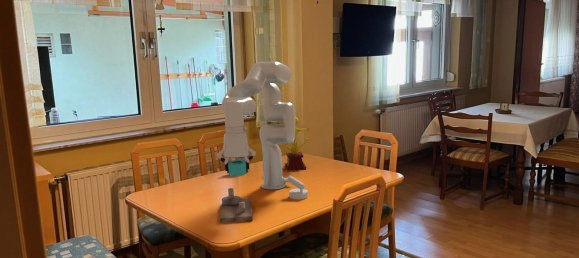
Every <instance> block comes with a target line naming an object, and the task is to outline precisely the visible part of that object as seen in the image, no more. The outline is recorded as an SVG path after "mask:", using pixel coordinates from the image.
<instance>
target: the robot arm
mask: <svg viewBox="0 0 579 258" xmlns="http://www.w3.org/2000/svg"><path fill="white" fill-rule="evenodd" d="M291 78H292V71H291V69H290V67H289V66H287V65H285V64H283V63H281V62H278V61H259V62H258V61H257V62H256V63H254V64H253V65H252V66H251V68H250V70H249V72H248V74H247V75H246V77H245V79H244V80H242V81H240V82H238V83H237V84H235V85H234V86H232V87H231V88H229V89H228V91H226V94H225V96H224V97H223V99H222V101H221V111H222V113H223V114H224V125H225V126H224V127H225V133H223V134H224V135H223V148H222V149H221V150H219V152H217V153H216V157H217V159H219V160H220V161H221V162H222V163H223V164H224V169H225V170H224V171H225V172H226V174H227V175H229V169H228V162H229V160H230V159H235V158H239V157H244V158H245V160H246V172H248V173H249V170H250V162H251V161H252V160H253V159H254V157H255V156H256V154H257V151H256V150H254V149H253V148H251V147H250V146H249V140H248V134H247V132H246V131H248V130H249V129H248V126H246V125H245V122H244V121H245V120H244V116H251V115H252V114H254V113H255V111H256V108H257V104H256V101H255V99H253V98H252V97H253V96H255V95H258V94H259V93H260V92H261V91H262V90H263V111H262V112H263V118H264V120H265V121H267V122H273V123H269V124H263V125H261V127H260V129H259V139H260V142H261V150H262V151H261V152H262V170H263V171H262V172H263V182H261V183H260V187H261V189H264V190H270V191H271V190H273V191H274V190H280V189H283V188H286V186H287V183H289V182H288V181H287V178H288V177H284V176H283V158H282V155H283V154H282V149H281V148H280V146H279V145H284V144H286V145H290V144H291V145H292V143H293V141H294V138H295V128H296V126H295V117H297V116H296V108H295V106H294V104H293V103H292V102H284V101H283V102H282V92H281V90H280V88H279V86H278V85H277V84H281V85H282V84H283V85H284V84H288V83H289V82H290V80H291ZM274 122H277V123H279V122H280V123H283V122H284V123H283V124H277V123H276V124H274ZM249 153H251V154H249ZM222 155H223V156H224V157H223V156H222ZM248 155H249V157H248Z"/></svg>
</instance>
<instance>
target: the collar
mask: <svg viewBox="0 0 579 258" xmlns="http://www.w3.org/2000/svg"><path fill="white" fill-rule="evenodd" d="M228 169H229V173H228V176H231V177H242V176H245V175H247V173H246V161H245V160H237V159H233V160H230V161H229V160H228Z"/></svg>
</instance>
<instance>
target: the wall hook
mask: <svg viewBox="0 0 579 258" xmlns="http://www.w3.org/2000/svg"><path fill="white" fill-rule="evenodd" d="M286 178H287V181H288V182H287V183H289V184H291V185H292V186H294V187H296V188H292V189H290V190H289V192H288V193H289V198H290V199H292V200H305V199H308V197H309V194H308V193H309V191H308V190H307V189H305V188H306V185H305V183H304V182H302V181H300V180H298V179H297V178H296V177H294V176H292V175H289V176H288V177H286Z"/></svg>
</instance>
